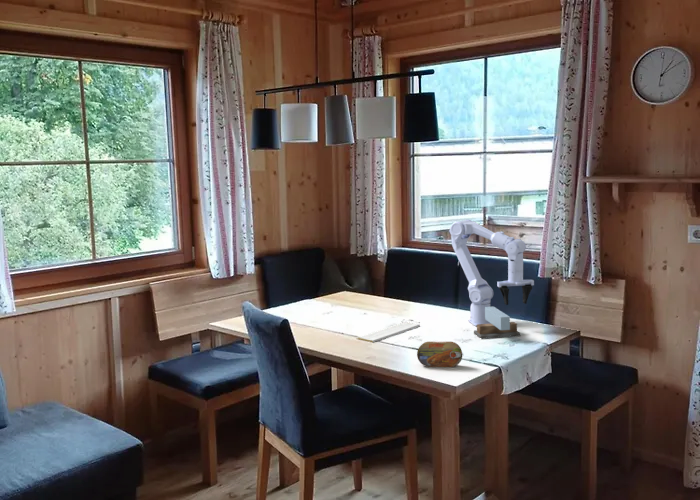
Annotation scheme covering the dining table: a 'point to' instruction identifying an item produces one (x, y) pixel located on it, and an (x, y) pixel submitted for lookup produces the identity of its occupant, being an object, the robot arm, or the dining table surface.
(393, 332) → the baseboard
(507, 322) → the beam
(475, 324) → the robot arm
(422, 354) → the tin
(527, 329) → the dining table surface
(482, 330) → the stand
